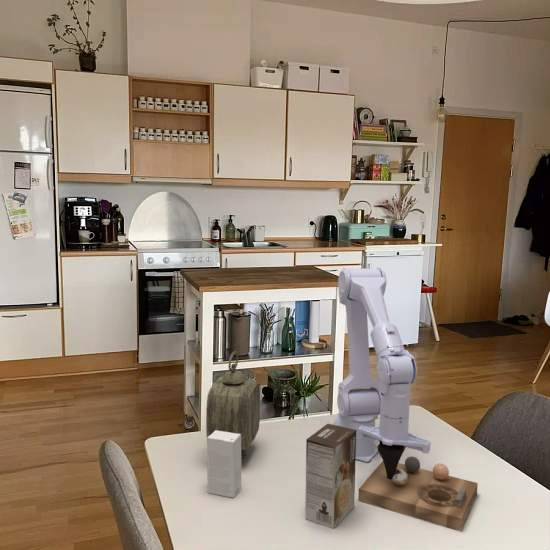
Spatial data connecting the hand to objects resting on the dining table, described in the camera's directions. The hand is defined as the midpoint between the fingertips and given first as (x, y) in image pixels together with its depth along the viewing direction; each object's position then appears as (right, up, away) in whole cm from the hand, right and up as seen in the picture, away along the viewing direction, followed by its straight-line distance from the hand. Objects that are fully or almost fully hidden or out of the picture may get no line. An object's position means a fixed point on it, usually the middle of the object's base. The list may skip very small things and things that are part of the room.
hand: (391, 477), depth 115 cm
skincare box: (-34, -3, +1) cm, 34 cm away
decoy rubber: (+5, +1, +5) cm, 7 cm away
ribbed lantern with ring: (-33, -1, +16) cm, 37 cm away
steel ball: (+2, 0, -1) cm, 2 cm away
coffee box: (-13, -5, -7) cm, 15 cm away
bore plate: (+5, -4, -1) cm, 7 cm away
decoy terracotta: (+11, +1, +2) cm, 11 cm away
